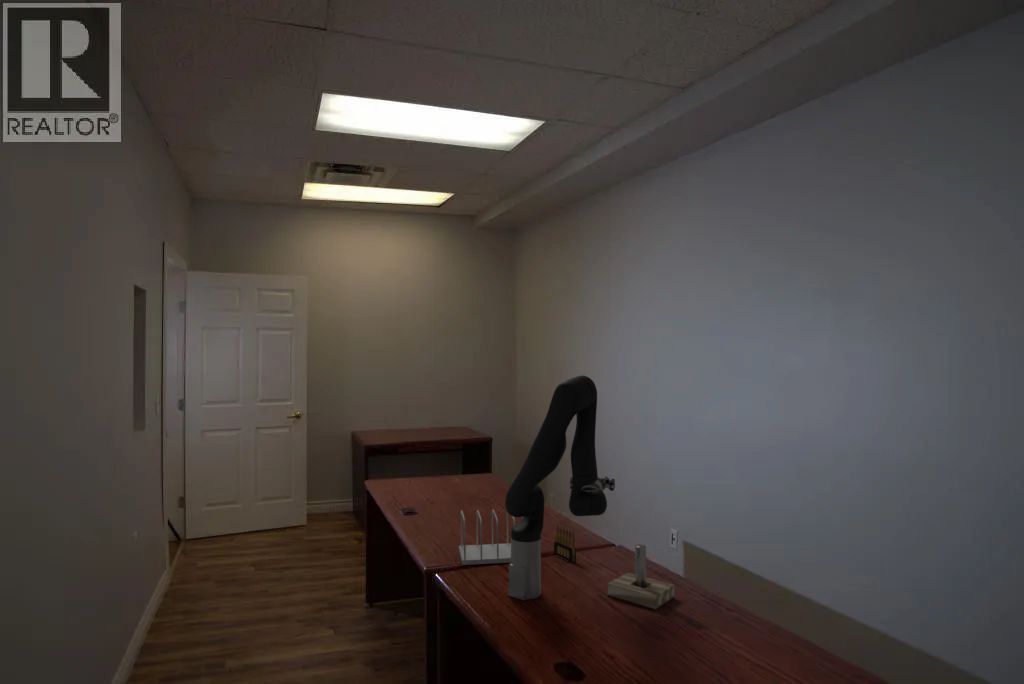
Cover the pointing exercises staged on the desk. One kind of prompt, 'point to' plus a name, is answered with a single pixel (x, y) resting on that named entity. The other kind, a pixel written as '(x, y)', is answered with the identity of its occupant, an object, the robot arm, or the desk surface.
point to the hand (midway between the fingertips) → (593, 479)
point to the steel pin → (640, 566)
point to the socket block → (641, 591)
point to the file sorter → (485, 547)
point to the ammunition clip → (565, 543)
